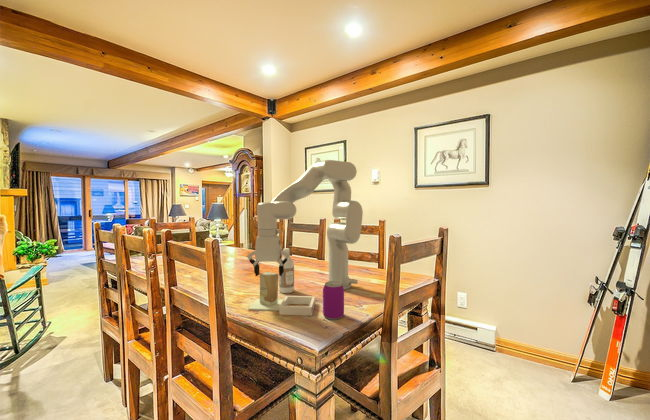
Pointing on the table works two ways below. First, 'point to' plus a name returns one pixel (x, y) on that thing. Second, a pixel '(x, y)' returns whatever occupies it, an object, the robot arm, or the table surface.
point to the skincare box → (268, 288)
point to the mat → (265, 306)
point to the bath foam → (287, 275)
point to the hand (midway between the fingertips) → (269, 275)
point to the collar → (297, 309)
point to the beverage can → (333, 300)
